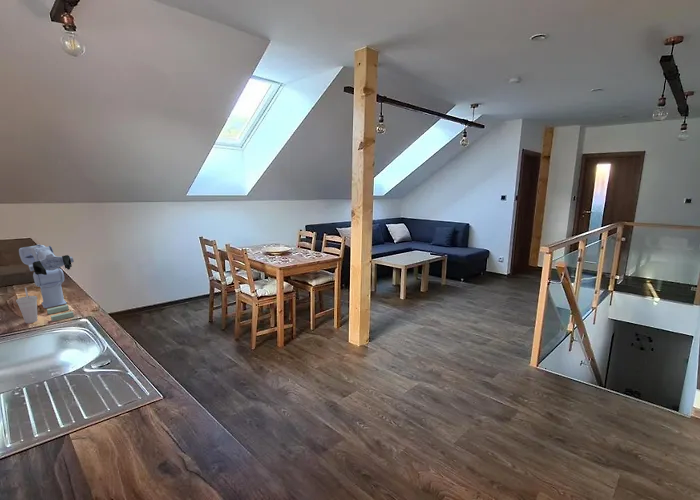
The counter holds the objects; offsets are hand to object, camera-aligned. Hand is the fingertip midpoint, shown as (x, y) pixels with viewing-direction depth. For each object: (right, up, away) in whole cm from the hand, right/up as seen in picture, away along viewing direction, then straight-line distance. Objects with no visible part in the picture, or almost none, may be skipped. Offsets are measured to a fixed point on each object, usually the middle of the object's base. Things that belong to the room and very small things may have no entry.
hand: (57, 269), depth 149 cm
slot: (-2, -19, +4) cm, 19 cm away
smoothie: (-8, -21, -2) cm, 22 cm away
